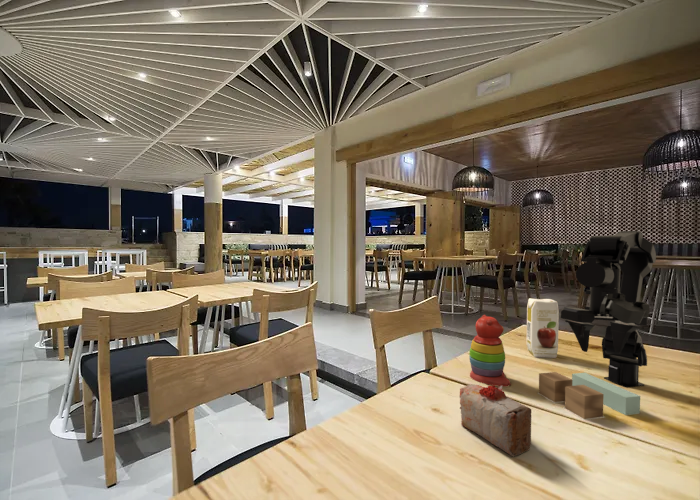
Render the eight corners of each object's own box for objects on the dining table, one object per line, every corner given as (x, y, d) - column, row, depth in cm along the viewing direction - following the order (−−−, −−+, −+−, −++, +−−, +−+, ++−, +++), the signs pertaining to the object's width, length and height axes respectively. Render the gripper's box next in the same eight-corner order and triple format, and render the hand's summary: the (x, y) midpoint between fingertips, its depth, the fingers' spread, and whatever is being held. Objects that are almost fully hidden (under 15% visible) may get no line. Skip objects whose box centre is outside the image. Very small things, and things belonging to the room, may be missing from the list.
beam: (571, 388, 90) (572, 373, 89) (584, 387, 90) (584, 372, 90) (625, 415, 76) (625, 397, 76) (639, 413, 77) (640, 395, 77)
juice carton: (524, 350, 122) (525, 297, 122) (550, 351, 121) (551, 298, 121) (532, 357, 115) (533, 301, 114) (560, 359, 114) (561, 301, 113)
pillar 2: (582, 405, 80) (583, 384, 80) (603, 416, 75) (603, 394, 75) (564, 408, 79) (565, 386, 79) (584, 419, 74) (584, 396, 74)
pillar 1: (555, 391, 88) (555, 371, 88) (572, 400, 83) (572, 379, 83) (538, 393, 87) (539, 373, 87) (554, 402, 82) (554, 381, 82)
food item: (453, 424, 73) (453, 378, 73) (479, 415, 77) (480, 371, 76) (509, 461, 61) (510, 406, 61) (538, 448, 65) (538, 396, 64)
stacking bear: (512, 389, 90) (513, 321, 90) (472, 385, 92) (472, 319, 92) (502, 373, 101) (503, 313, 100) (466, 371, 103) (467, 311, 103)
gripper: (600, 288, 74) (596, 361, 74) (673, 293, 77) (669, 363, 76) (560, 284, 85) (557, 347, 85) (625, 288, 88) (622, 349, 87)
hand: (601, 352), depth 83 cm, fingers open, 9 cm apart
